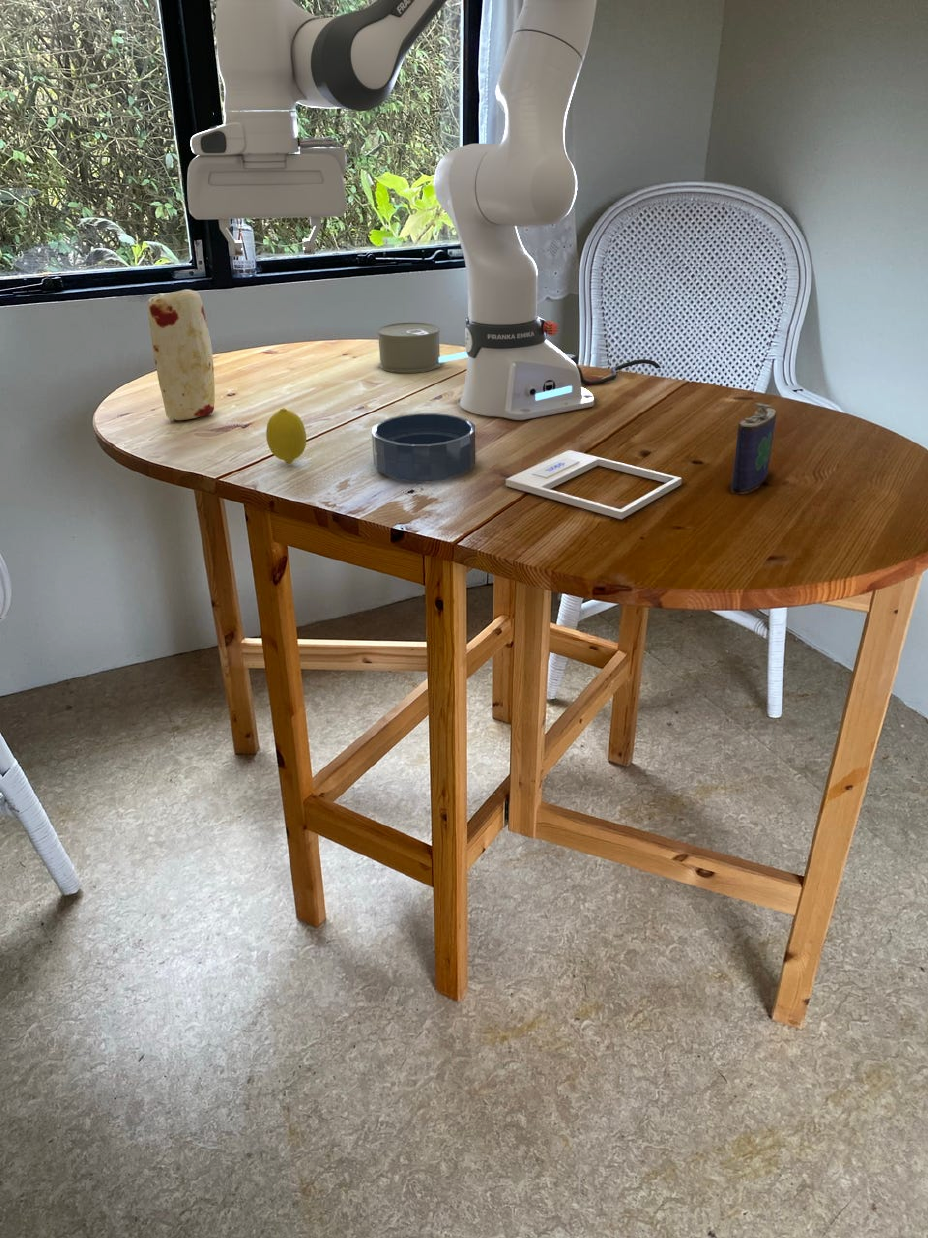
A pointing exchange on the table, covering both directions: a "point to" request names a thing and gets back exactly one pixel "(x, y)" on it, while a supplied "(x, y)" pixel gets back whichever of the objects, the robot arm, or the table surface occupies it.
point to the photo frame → (576, 463)
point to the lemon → (286, 435)
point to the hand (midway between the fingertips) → (273, 254)
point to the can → (409, 347)
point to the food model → (182, 354)
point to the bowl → (424, 446)
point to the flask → (753, 450)
